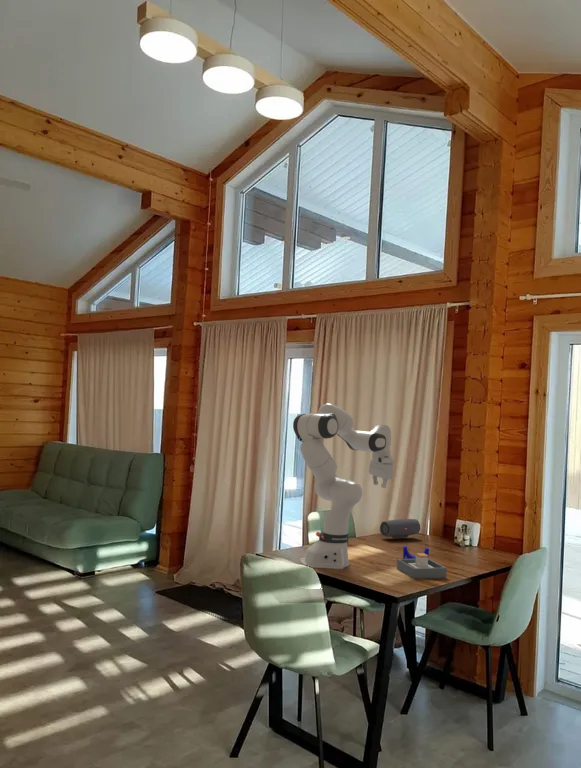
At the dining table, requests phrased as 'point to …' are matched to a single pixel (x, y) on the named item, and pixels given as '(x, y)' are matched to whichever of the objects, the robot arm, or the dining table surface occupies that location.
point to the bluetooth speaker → (400, 528)
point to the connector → (421, 560)
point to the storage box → (421, 569)
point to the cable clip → (408, 556)
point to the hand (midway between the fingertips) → (379, 486)
